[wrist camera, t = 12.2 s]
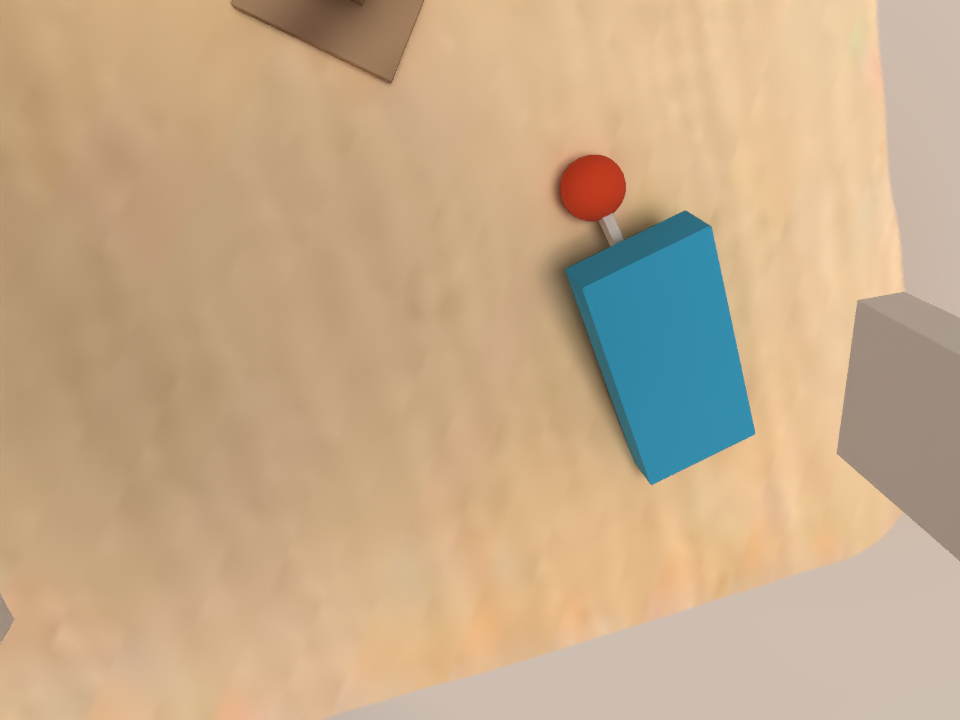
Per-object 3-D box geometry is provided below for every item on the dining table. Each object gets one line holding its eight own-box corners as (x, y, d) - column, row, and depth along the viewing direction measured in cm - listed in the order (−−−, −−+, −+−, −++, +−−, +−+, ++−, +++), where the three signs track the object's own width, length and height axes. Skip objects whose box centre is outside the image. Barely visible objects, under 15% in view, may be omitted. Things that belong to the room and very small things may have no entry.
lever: (695, 374, 47) (629, 122, 37) (755, 434, 41) (696, 154, 31) (604, 418, 47) (513, 179, 37) (650, 485, 41) (558, 221, 31)
